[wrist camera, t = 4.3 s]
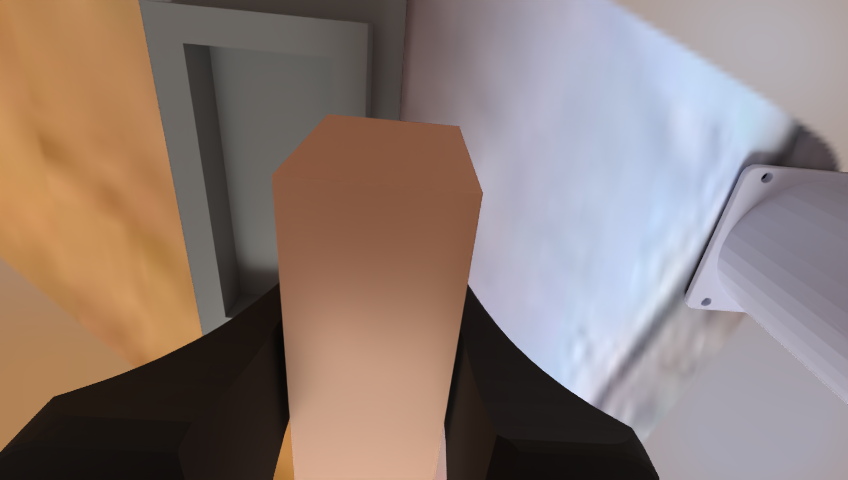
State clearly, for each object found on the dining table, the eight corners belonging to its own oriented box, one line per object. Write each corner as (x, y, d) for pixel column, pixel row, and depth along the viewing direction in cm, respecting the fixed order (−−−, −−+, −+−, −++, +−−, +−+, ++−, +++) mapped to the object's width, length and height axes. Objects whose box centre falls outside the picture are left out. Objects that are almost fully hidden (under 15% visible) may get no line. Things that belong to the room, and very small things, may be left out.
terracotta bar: (458, 126, 12) (483, 193, 7) (424, 386, 16) (426, 524, 12) (327, 113, 12) (271, 175, 7) (330, 381, 16) (297, 518, 12)
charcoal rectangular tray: (408, -28, 16) (406, -35, 14) (385, 340, 24) (381, 373, 22) (137, -58, 16) (88, -70, 13) (207, 327, 24) (184, 361, 22)
